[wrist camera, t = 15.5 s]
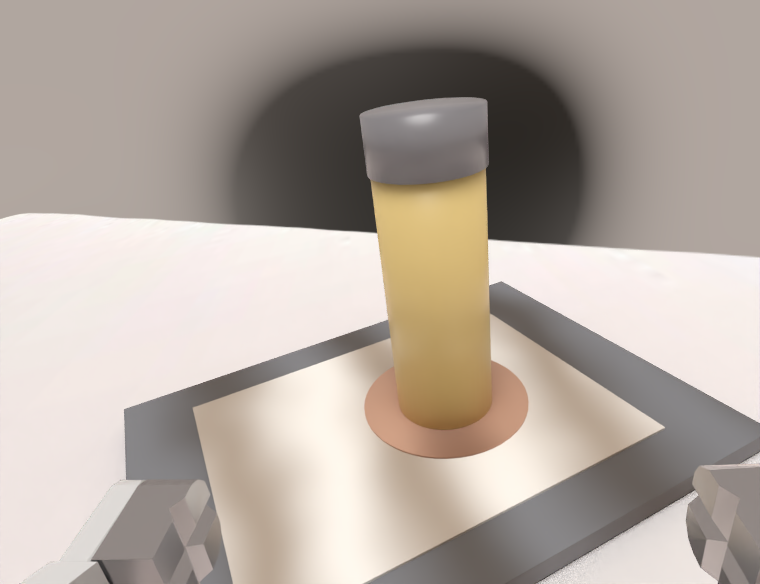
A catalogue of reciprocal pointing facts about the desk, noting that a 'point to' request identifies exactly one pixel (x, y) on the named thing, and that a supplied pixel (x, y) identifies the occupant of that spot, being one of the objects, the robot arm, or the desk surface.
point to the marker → (434, 253)
